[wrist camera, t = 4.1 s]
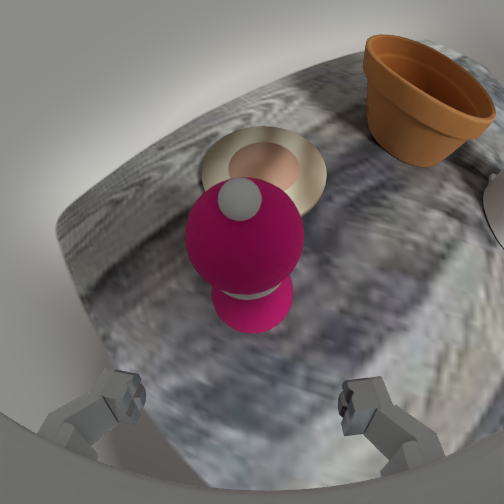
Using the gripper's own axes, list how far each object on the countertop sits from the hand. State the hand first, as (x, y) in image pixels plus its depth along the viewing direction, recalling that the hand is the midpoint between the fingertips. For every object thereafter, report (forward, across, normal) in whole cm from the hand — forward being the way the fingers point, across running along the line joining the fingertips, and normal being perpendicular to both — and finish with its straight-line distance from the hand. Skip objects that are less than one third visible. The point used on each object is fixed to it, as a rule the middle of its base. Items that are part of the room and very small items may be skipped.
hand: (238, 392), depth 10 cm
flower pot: (+37, -25, -12) cm, 46 cm away
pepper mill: (+18, 0, +7) cm, 19 cm away
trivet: (+30, -1, -5) cm, 30 cm away
